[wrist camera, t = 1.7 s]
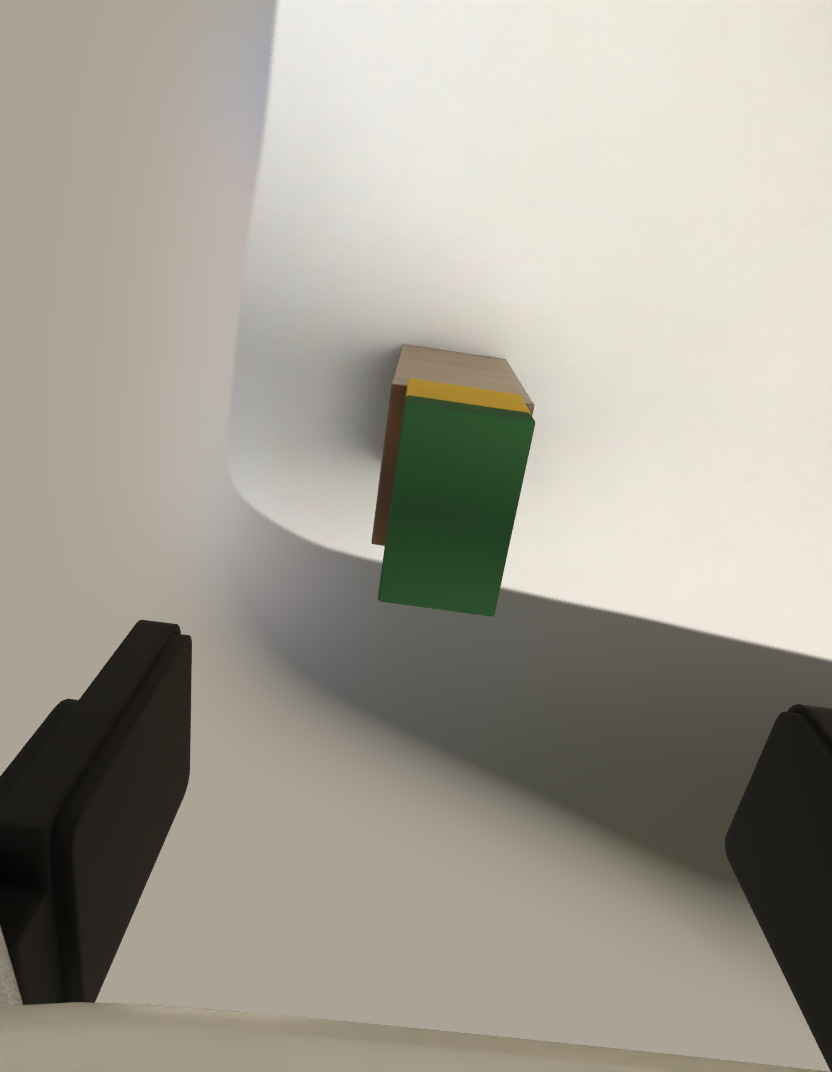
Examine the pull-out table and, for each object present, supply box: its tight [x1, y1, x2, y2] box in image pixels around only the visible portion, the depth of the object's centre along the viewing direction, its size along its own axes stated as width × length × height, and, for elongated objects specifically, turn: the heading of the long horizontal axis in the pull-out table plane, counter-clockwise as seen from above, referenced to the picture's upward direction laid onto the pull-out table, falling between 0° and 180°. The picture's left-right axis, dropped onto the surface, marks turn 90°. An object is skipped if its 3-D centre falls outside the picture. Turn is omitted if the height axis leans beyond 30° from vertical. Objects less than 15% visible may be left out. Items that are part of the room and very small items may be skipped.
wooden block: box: [372, 345, 534, 546], centre depth 27 cm, size 6×4×9 cm
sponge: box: [378, 378, 535, 616], centre depth 21 cm, size 6×4×4 cm, turn 172°
